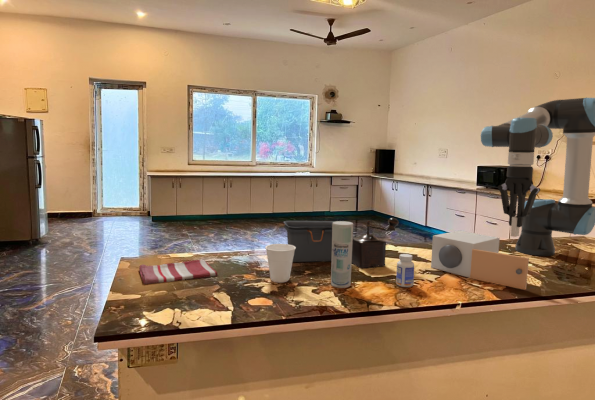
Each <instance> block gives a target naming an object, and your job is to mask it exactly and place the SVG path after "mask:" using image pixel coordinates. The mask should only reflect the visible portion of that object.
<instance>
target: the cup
mask: <svg viewBox="0 0 595 400" xmlns="http://www.w3.org/2000/svg"><path fill="white" fill-rule="evenodd" d="M264 249H265V252H266V258H267V262H268V263H267V264H268V265H267V266H268V270H269V277H270V280H271V281H272V282H274V283H280V284H281V283H287V282H288V281H289V280H290V277H291V272H292V267H293V263H294V262H293V257H294V251H295V249H296V247H295V246H293V245H289V244H288V243H287V244H286V243H273V244H268V245H266V246H264Z"/></svg>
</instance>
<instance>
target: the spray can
mask: <svg viewBox="0 0 595 400" xmlns="http://www.w3.org/2000/svg"><path fill="white" fill-rule="evenodd" d="M353 238H354V223H353V222H351V221H344V220H342V221H341V220H339V221H338V220H337V221H333V224H332V261H331V269H330V272H331V273H330V279H331V280H330V285H331V286H332V287H334V288H339V289H345V288H349V287H350V286H351V285H352V284H351V282H352V280H351V278H352V264H353V263H352V241H353Z"/></svg>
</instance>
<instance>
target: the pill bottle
mask: <svg viewBox="0 0 595 400" xmlns="http://www.w3.org/2000/svg"><path fill="white" fill-rule="evenodd" d="M395 279H396V281H395V282H396V285H397V286H399V287H402V288H411V287H413V286H414V284H415V283H414V282H415V263H414V262H413V255H412V254H409V253H400V254H399V261H397V262H396V278H395Z"/></svg>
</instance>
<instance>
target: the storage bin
mask: <svg viewBox="0 0 595 400" xmlns="http://www.w3.org/2000/svg"><path fill="white" fill-rule="evenodd" d="M333 222H334V221H332V220H324V221H323V220H285V221H283V224H284V226H283V227H284V229H285V230H286V234H287V235H286V236H287V244H289V245H293V246H295V247H296V249H295V251H294V257H293V262H292V263H300V262H301V263H302V262H303V263H304V262H332V224H333Z"/></svg>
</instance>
